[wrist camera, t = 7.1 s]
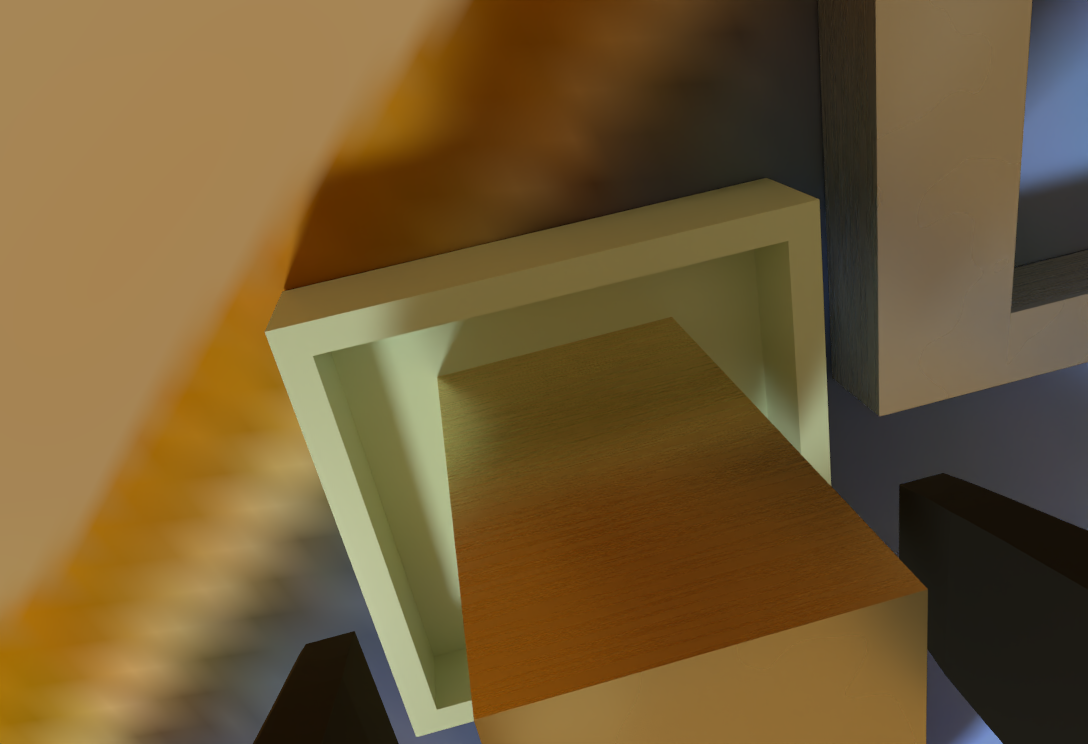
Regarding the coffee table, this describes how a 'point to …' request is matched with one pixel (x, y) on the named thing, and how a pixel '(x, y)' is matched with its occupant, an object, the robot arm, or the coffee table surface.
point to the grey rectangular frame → (934, 205)
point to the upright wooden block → (665, 561)
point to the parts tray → (517, 329)
